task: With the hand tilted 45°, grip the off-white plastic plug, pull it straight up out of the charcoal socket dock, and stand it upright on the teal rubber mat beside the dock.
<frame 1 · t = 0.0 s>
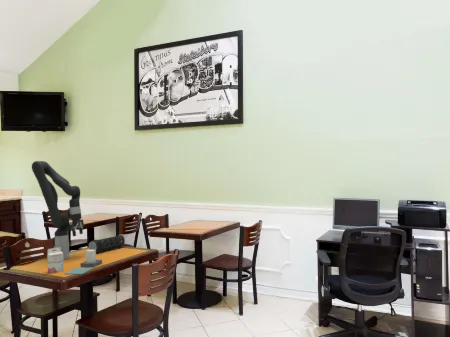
hand: (77, 235, 268), 17 cm above the table, tool pointing down, fingers open, 8 cm apart
mat: (78, 271, 232), on the table
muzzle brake: (107, 250, 292), on the table
dock: (91, 265, 247), on the table
ink cartridge box: (56, 271, 235), on the table
plug: (91, 257, 247), in the dock
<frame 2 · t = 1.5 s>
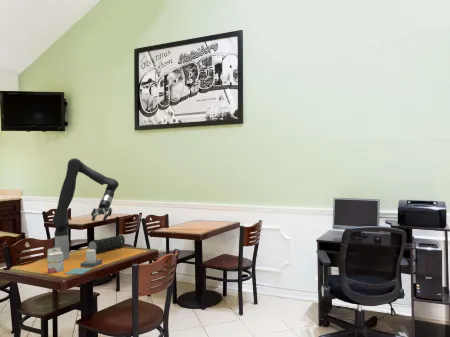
hand: (98, 220, 258), 28 cm above the table, tool tilted 45°, fingers open, 8 cm apart
nothing on the table moved.
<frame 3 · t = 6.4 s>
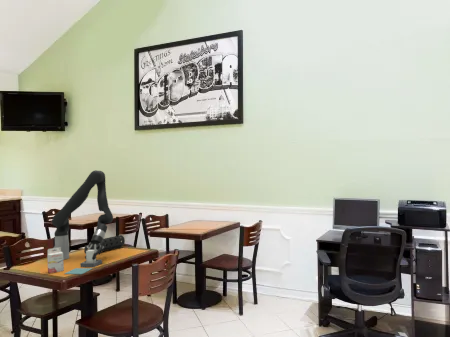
hand: (89, 259, 245), 5 cm above the table, tool tilted 45°, fingers closed on plug, 4 cm apart
plug: (91, 257, 247), in the dock, touching gripper
everything else where it was.
when the fingers open (6 cm above the table, at t = 14.3 s): plug drops 1 cm, resting on mat.
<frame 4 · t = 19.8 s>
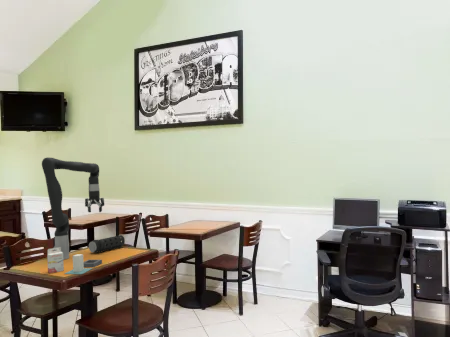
hand: (95, 212, 271), 33 cm above the table, tool pointing down, fingers open, 8 cm apart
plug: (78, 262, 232), on the mat
everything else where it was.
at the end: plug inside the target area on the mat (0.0 cm from its centre), point 5.4 cm above the mat's base; plug tilted 0°; the gripper is holding nothing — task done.
